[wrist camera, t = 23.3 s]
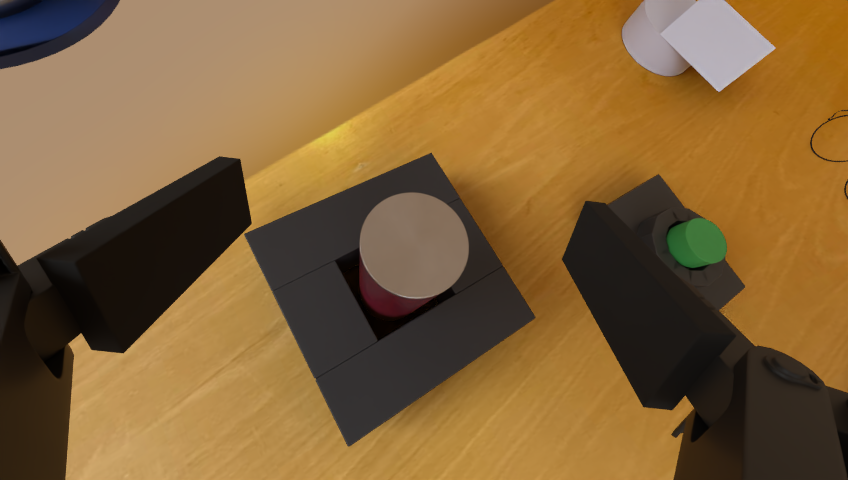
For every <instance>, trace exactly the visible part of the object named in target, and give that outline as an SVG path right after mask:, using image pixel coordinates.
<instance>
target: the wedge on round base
mask: <svg viewBox="0 0 848 480" xmlns="http://www.w3.org/2000/svg"><path fill="white" fill-rule="evenodd" d="M622 39H623V42H624V45H625V47H626V49H627V50H628V52H629V53H630V55H631V56H632V57H633V58H634V59H635V60H636V61H637V62H638V63H639V64H640V65H641V66H643V67H644V68H646V69H647V70H649V71H651V72H653V73H656V74H659V75H663V76H676V75H679V74H681V73H683V72H684V71H685V70H686V69H687V68H689V67H690V66H693V67H694V68H695V69H696V70H697V71H698V72H699V73H700V74H701V75H702V76H703V77H704V78H705V79H706V80H707V81H708V82H709V83H710V84H711V85H712V86H713V87H714V88H715V89H716V90H717V91H718V92H720V91H721V90H722V89H724V88H725V87H726V86H728V85H729V84H730V83H731V82H733V81H734V80H735V79H737V78H738V77H739V76H740V75H742V74H743V73H744V72H746V71H747V70H748V69H750V68H751V67H752V66H753V65H755V64H756V63H757V62H759V61H760V60H761V59H763V58H764V57H765V56H766V55H768V54H769V53H770V52H772V51H773V50H774V49H775V47H774V46H773V45H772V44H771V43H770V42H769V41H768V40H766V39H765V38H764V37H763V36H762V35H761V34H760V33H759V32H758V31H757V30H756V29H755V28H754V27H752V26H751V25H750V24H749V23H748V22H747V21H746V20H745V19H744V18H743V17H742V16H741V15H740V14H739V13H737V12H736V11H735V10H734V9H733V8H732V7H731V6H730V5H729V4H728V3H727V2H726V1H725V0H698V1H695V0H644V1H643V2H642V3H641V4H640V6H639V7H638V8H637V9H636V10H635V12H634V13H633V14H632V15H631V16H630V18H629V19H628V20H627V21H626V23H625V24H624V26H623V29H622Z"/></svg>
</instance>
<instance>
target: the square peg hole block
mask: <svg viewBox="0 0 848 480" xmlns="http://www.w3.org/2000/svg"><path fill="white" fill-rule="evenodd" d="M401 193H422V194H426V195H430V196H433V197H435V198H437V199H439V200H441V201H443V202H444V203H445V204H447V205H448V206H449V207H450V208H452V209H453V211H454V212H455V213H456V214H457V215H458V217H459V218H460V219H461V221H462V223H463V225H464V227H465V230H466V232H467V236H468V242H469V254H468V260H467V263H466V266H465V268H464V271H463V273H462V274H461V276H460V277H459V279H458V280H457V281H456V282H455V283H454V284H453V285H452V286H451V287H450V288H448V289H447V290H445V291H444V292H442V293H441V294H439V295H438V296H436V297H437V299H438V300H439V302H440V303H439V304H437V305H435V306H434V307H432V308H430V309H429V310H427V311H425V312H424V313H422V314H420V315H419V316H417V317H415V318H414V319H412V320H410V321H409V322H407V323H405V324H404V325H402V326H401V327H399V328H397V329H396V330H394V331H392V332H391V333H389V334H387V335H386V336H384V337H382V338H381V339H379V340H378V339H377V337H376V336H375V334H374V332H373V330H372V328H371V326H370V324H369V323H368V321H367V319H366V317H365V315H364V313H363V311H362V309H361V308H360V306H359V304H358V302H357V300H356V298H355V296H354V295H353V293H352V291H351V289H350V287H349V285H348V283H347V281H346V280H345V278H344V276H343V274H342V273H343V272H345V271H347V270H349V269H351V268H352V267H354V266H356V265H358V264H359V251H360V233H361V229H362V226H363V224H364V221H365V219H366V218H367V216H368V214H369V213H370V212H371V211H372V209H373V208H374V207H375V206H377V205H378V204H379V203H380V202H382V201H383V200H385V199H387V198H389V197H391V196H394V195H397V194H401ZM244 235H245V237H246V239H247V241H248V243H249V245H250V248H251V250H252V252H253V254H254V256H255V258H256V260H257V262H258V264H259V266H260V268H261V270H262V272H263V274H264V276H265V278H266V280H267V282H268V284H269V286H270V288H271V290H272V291H273V295H274V297H275V299H276V301H277V303H278V305H279V307H280V309H281V311H282V313H283V315H284V317H285V319H286V321H287V323H288V325H289V327H290V329H291V331H292V333H293V335H294V337H295V339H296V342H297V344H298V346H299V348H300V350H301V352H302V354H303V356H304V358H305V360H306V362H307V364H308V366H309V368H310V370H311V372H312V374H313V376H314V378H315V379H316V382H317V384H318V386H319V388H320V390H321V392H322V395H323V397H324V399H325V401H326V403H327V405H328V407H329V409H330V411H331V413H332V415H333V417H334V419H335V421H336V423H337V425H338V427H339V429H340V431H341V433H342V435H343V437H344V440H345V442H346V444H347V446H351V445H352V444H354V443H355V442H357V441H358V440H360V439H361V438H362V437H364V436H365V435H367V434H368V433H370V432H371V431H373V430H374V429H375V428H377V427H378V426H380V425H381V424H383V423H384V422H386V421H387V420H388V419H390V418H391V417H393V416H394V415H396V414H397V413H399V412H400V411H401V410H403V409H404V408H406V407H407V406H409V405H410V404H412V403H413V402H415V401H416V400H417V399H419V398H420V397H422V396H423V395H425V394H426V393H428V392H429V391H430V390H432V389H433V388H435V387H436V386H438V385H439V384H441V383H442V382H443V381H445V380H446V379H448V378H449V377H451V376H452V375H454V374H455V373H456V372H458V371H459V370H461V369H462V368H464V367H465V366H467V365H468V364H470V363H471V362H472V361H474V360H475V359H477V358H478V357H480V356H481V355H483V354H484V353H485V352H487V351H488V350H490V349H491V348H493V347H494V346H496V345H497V344H498V343H500V342H501V341H503V340H504V339H506V338H507V337H509V336H510V335H511V334H513V333H514V332H516V331H517V330H519V329H520V328H522V327H523V326H525V325H526V324H527V323H529V322H530V321H532V320H533V319H535V316H534V314H533V312H532V311H531V309H530V308H529V306H528V305H527V303H526V301H525V300H524V298H523V297H522V295H521V293H520V292H519V290H518V289H517V287H516V286H515V284H514V282H513V281H512V279H511V278H510V276H509V275H508V273H507V271H506V270H505V268H504V267H503V265H502V263H501V262H500V260H499V259H498V257H497V256H496V254H495V252H494V251H493V249H492V248H491V246H490V244H489V243H488V241H487V240H486V238H485V237H484V235H483V233H482V232H481V230H480V229H479V227H478V226H477V224H476V222H475V221H474V219H473V218H472V216H471V215H470V213H469V211H468V210H467V208H466V207H465V205H464V204H463V202H462V200H461V199H460V197H459V195H458V194H457V192H456V191H455V189H454V188H453V186H452V184H451V183H450V181H449V180H448V178H447V177H446V175H445V173H444V172H443V170H442V169H441V167H440V166H439V164H438V162H437V161H436V159H435V158H434V156H433V155H432V153H430V154H428V155H425V156H423V157H421V158H418V159H416V160H414V161H411V162H409V163H407V164H405V165H402V166H400V167H398V168H395V169H393V170H391V171H388V172H386V173H384V174H381V175H379V176H377V177H375V178H372V179H370V180H368V181H365V182H363V183H361V184H358V185H356V186H354V187H351V188H349V189H347V190H345V191H342V192H340V193H338V194H335V195H333V196H331V197H328V198H326V199H324V200H321V201H319V202H317V203H314V204H312V205H310V206H308V207H305V208H303V209H301V210H298V211H296V212H294V213H291V214H289V215H287V216H284V217H282V218H280V219H278V220H275V221H273V222H271V223H268V224H266V225H264V226H261V227H259V228H257V229H254V230H252V231H250V232H248V233H245V234H244Z"/></svg>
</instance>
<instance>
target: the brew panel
mask: <svg viewBox="0 0 848 480" xmlns="http://www.w3.org/2000/svg"><path fill="white" fill-rule="evenodd" d="M607 206H608V207H609V208H610V209H611V210H612V211H613V212H614V213H615V214H616V215H617V216H618V217H619V218H620V219H621V220H622V221H623V222H624V223H625V224H626V225H627V226H628V227H629V228H630V229H631V230H632V231H633V232H634V233H635V234H636V235H637V236H638V237H639V238H640V239H641V240H642V241H643V242H644V243H645V244H646V245H647V246H648V247H649V248H650V249H651V250H652V251H653V252H654V253H655V254H656V255H657V256H658V257H659V258H660V259H661V260H662V261H663V262H664V263H665V264H666V265H667V266H668V267H669V268H670V269H671V270H672V271H673V272H674V273H675V274H676V275H678V276H679V277H681V278H682V279H684V280H686V281H687V282H689V283H690V284H692V285H693V286H694V287H695V288H696V289H697V290H698V291H699V292H700V293H701V294H702V295H703V296H704V297H705V300H708V301H709V302H710V303H711V304H712V305H713V306H714V307H715V308H716V310H717V311H719V310H720V309H721V308H722V307H723V306H724V305H726V304H727V303H728V302H729V301H730V300H731V299H732V298H733V297H735V296H736V295H737V294H738V293H739V292H740V291H741V290H743V289H744V288H745V285H744V284H743V283H742V281H741V280H740V279H739V278H738V276H737V275H736V274H735V272H734V271H733V270H732V268H731V267H730V266H729V265H728V263H727V262H726V261H725V257H724V258H723V259H722V260H721V261H720V262H717V263H713V264H709V265H705V266H700V267H696V268H689V267H685V266H683V265H681V264H680V263H678V262H677V261H676V260H675V259H674V257H673V256H672V255H671V253H670V252H669V249H668V245H667V241H666V237H667V234H668V232H669V230H670V229H671V228H672V227H674V226H676V225H679V224H682V223H684V222H687V221H690V220H692V219H695V218H703V217H701V216H700V215H698V214H696V213H695V212H693V211H691V210H690V209H687V208H685V207H684V206H683V205H682V204H681V202H680V201H679V200H678V198H677V197H676V196H675V194H674V193H673V192H672V191H671V189H670V188H669V187H668V185H667V184H666V183H665V181H664V180H663V179H662V178H661V176H660V175H659V174H658V175H656V176H654V177H653V178H651V179H649V180H647V181H646V182H644V183H642V184H641V185H639V186H637V187H636V188H634V189H632V190H631V191H629V192H627V193H626V194H624V195H622V196H621V197H619V198H617V199H616V200H614V201H612V202H611V203H609V204H607ZM703 219H705V218H703Z"/></svg>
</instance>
